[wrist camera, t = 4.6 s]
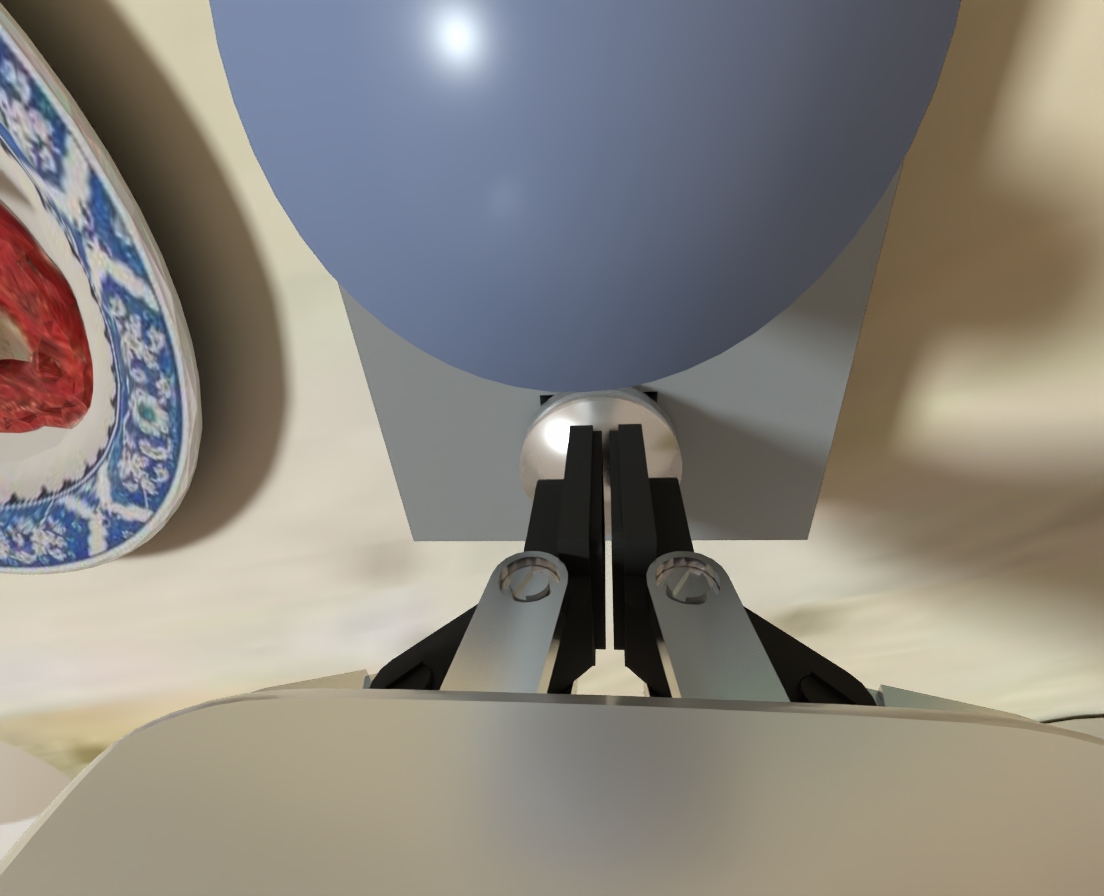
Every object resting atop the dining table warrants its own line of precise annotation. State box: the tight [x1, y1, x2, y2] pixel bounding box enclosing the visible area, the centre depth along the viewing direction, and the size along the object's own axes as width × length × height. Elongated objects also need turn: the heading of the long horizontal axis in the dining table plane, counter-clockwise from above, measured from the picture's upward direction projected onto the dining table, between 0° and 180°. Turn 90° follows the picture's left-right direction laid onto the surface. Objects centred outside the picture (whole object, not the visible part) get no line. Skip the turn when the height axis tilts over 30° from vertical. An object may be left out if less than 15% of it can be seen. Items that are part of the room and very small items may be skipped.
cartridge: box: [209, 0, 961, 392], centre depth 8 cm, size 5×5×12 cm
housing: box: [338, 159, 904, 541], centre depth 13 cm, size 16×12×4 cm
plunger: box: [519, 387, 682, 534], centre depth 14 cm, size 4×4×4 cm
